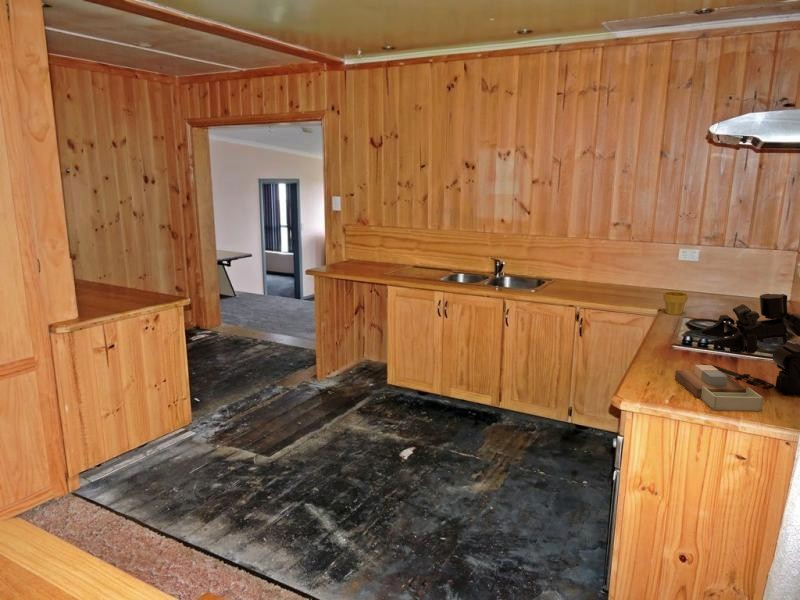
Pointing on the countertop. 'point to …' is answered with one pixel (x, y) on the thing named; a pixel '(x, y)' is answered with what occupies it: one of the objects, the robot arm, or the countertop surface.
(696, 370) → the cream block
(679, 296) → the plant pot
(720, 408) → the tray
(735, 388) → the board
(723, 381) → the grey block
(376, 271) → the countertop surface
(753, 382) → the knife
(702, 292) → the countertop surface
